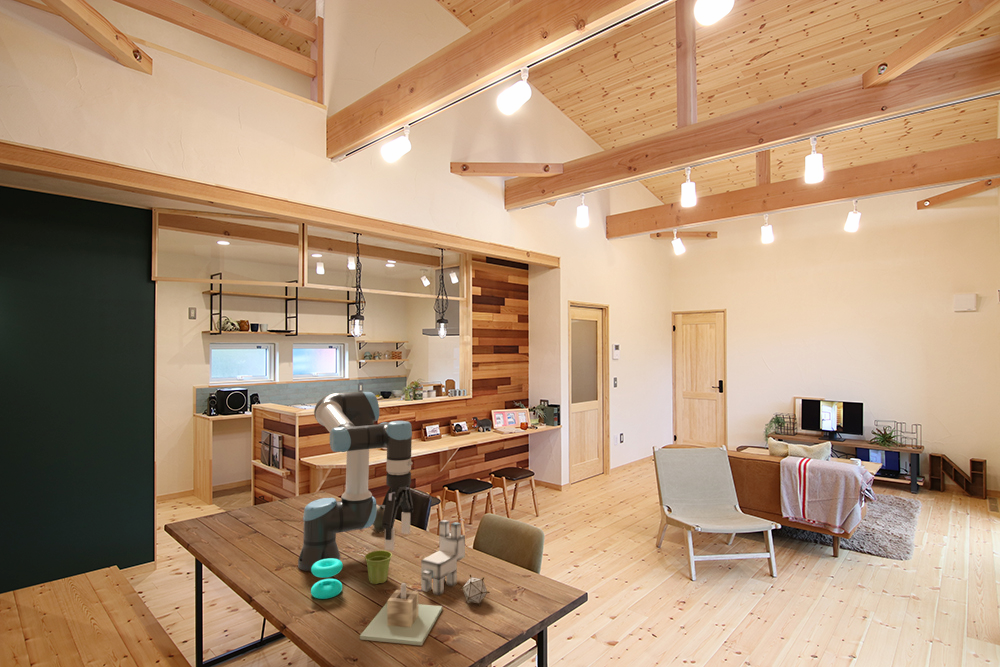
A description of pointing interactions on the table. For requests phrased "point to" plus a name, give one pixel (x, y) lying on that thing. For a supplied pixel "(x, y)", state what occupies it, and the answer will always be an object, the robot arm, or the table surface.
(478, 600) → the game die
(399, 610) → the bead
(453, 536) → the toy llama
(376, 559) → the plant pot
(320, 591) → the donuts
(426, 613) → the stand
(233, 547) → the table surface
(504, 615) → the table surface
